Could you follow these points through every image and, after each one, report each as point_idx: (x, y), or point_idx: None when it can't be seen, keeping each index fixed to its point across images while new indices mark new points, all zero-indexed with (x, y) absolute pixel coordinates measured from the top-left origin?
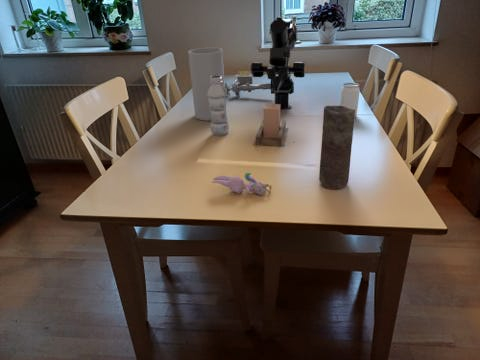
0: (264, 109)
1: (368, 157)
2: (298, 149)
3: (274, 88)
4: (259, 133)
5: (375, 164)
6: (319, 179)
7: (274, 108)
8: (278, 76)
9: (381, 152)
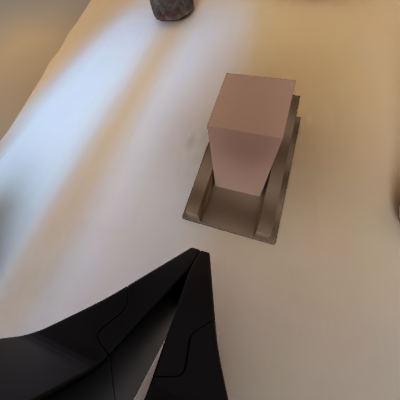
0: (288, 83)
1: (84, 74)
2: (191, 107)
3: (208, 259)
4: (288, 114)
5: (89, 55)
6: (193, 4)
7: (244, 80)
8: (111, 343)
9: (52, 88)
